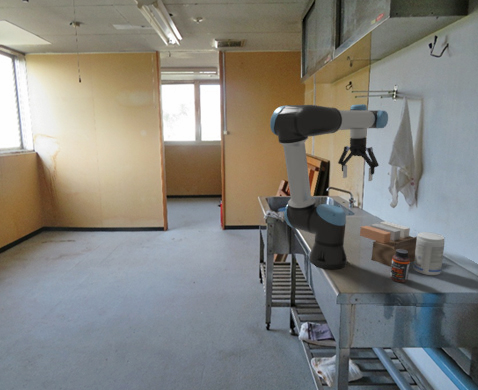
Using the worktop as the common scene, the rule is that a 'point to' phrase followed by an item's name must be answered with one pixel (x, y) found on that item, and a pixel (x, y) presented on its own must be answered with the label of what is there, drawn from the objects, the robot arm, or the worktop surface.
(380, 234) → the orange rectangular bar
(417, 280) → the worktop surface
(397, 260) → the supplement bottle
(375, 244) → the walnut key block
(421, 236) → the supplement tub
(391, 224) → the off-white bar
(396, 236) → the gray bar
